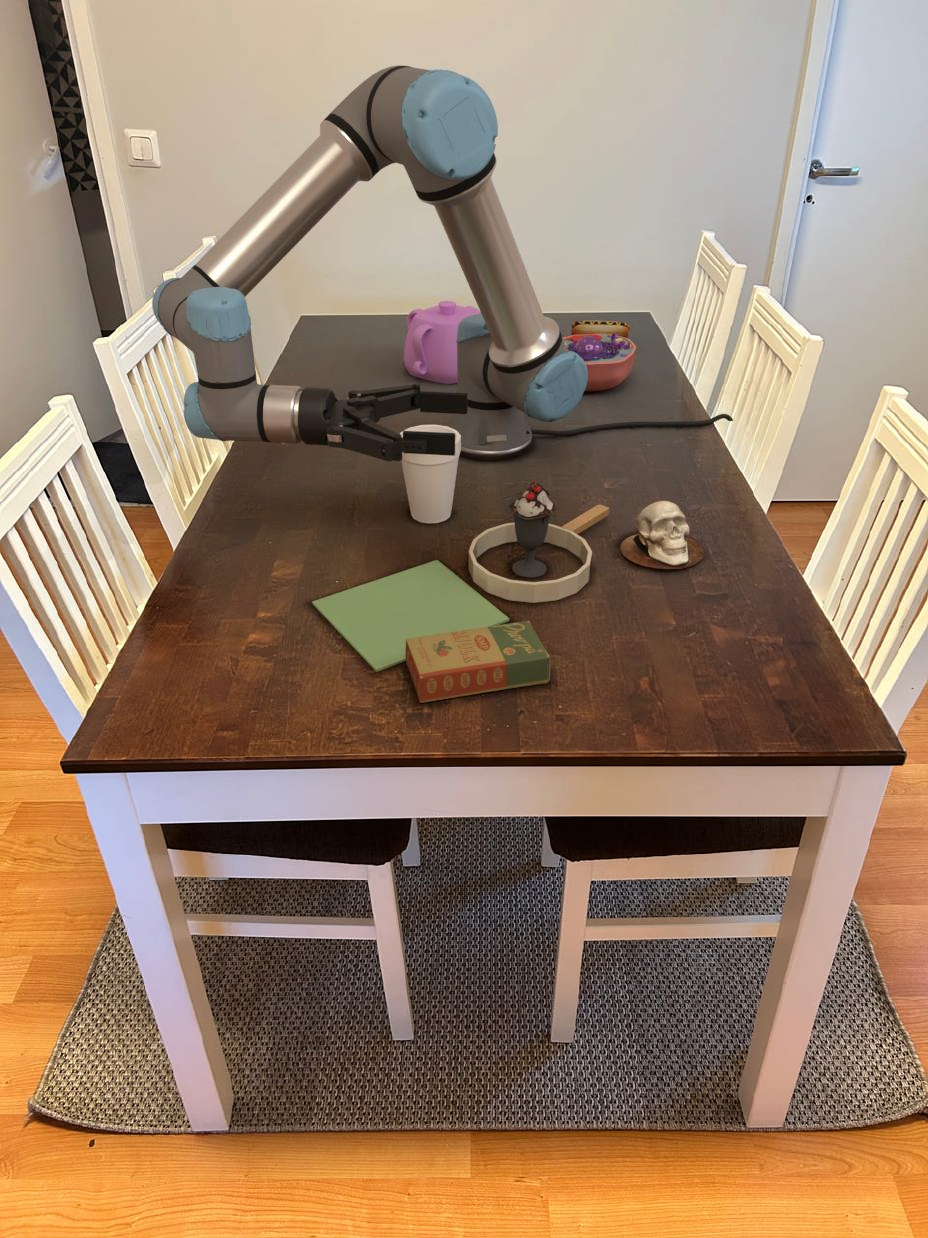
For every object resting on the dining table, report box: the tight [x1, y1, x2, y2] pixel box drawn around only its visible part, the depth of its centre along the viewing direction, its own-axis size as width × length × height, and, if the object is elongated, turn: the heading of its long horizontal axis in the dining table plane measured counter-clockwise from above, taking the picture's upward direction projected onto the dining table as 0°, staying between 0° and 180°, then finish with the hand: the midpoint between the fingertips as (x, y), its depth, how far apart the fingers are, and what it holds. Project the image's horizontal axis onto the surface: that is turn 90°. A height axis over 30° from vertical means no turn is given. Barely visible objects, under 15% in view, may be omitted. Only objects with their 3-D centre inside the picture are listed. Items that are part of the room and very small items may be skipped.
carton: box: [405, 620, 551, 704], centre depth 112 cm, size 8×16×4 cm, turn 105°
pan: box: [468, 503, 610, 604], centre depth 134 cm, size 26×17×3 cm, turn 123°
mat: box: [311, 559, 510, 673], centre depth 124 cm, size 20×18×1 cm
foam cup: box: [399, 424, 461, 524], centre depth 143 cm, size 10×9×13 cm
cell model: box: [562, 334, 637, 393], centre depth 189 cm, size 17×20×11 cm
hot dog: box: [570, 319, 631, 338], centre depth 214 cm, size 5×13×5 cm, turn 84°
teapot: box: [403, 300, 481, 385], centre depth 197 cm, size 19×21×14 cm
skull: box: [619, 500, 705, 570], centre depth 136 cm, size 12×10×10 cm
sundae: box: [507, 479, 558, 579], centre depth 129 cm, size 7×7×15 cm
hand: (461, 423), depth 122 cm, fingers open, 13 cm apart
